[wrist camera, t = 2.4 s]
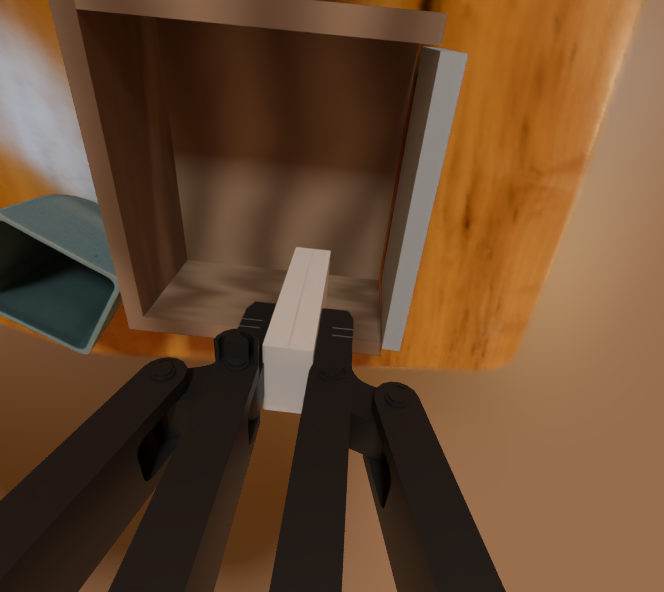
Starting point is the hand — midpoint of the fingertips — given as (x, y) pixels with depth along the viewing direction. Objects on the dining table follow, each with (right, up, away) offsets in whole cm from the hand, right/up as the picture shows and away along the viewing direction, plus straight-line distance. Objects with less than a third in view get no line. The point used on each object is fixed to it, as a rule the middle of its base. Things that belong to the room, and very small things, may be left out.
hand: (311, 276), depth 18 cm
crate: (-3, +9, +13) cm, 17 cm away
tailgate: (+6, +8, +12) cm, 16 cm away
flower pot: (-19, +4, +18) cm, 26 cm away
